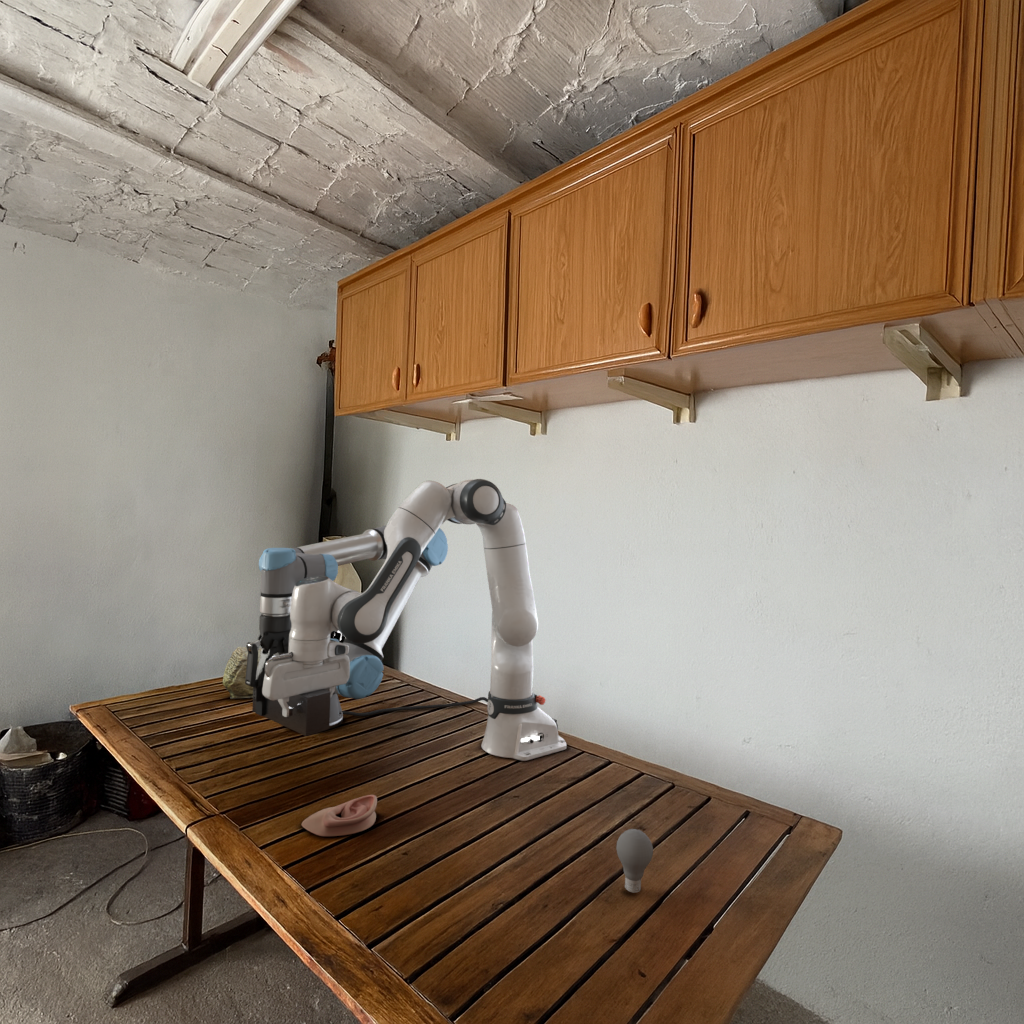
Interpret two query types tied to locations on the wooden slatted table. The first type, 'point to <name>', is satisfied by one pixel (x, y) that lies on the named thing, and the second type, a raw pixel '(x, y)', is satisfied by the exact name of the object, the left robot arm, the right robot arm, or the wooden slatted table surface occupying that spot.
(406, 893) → the wooden slatted table surface
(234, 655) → the fossil
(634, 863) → the light bulb
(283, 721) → the box
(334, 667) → the right robot arm
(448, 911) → the wooden slatted table surface
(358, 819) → the anatomical model
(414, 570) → the left robot arm
